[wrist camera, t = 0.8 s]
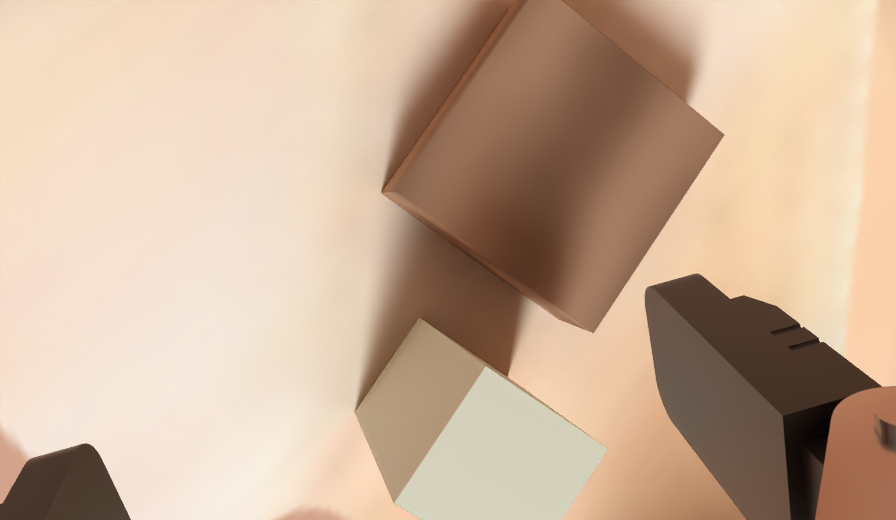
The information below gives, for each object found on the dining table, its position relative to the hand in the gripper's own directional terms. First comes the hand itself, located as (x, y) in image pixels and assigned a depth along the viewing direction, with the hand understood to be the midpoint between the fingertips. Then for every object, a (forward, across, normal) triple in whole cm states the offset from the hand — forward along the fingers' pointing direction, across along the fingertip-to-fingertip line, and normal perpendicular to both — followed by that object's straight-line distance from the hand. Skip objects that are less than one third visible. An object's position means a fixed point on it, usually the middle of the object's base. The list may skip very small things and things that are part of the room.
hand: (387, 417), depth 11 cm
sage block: (+21, -1, +13) cm, 25 cm away
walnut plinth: (+24, -8, +5) cm, 26 cm away
